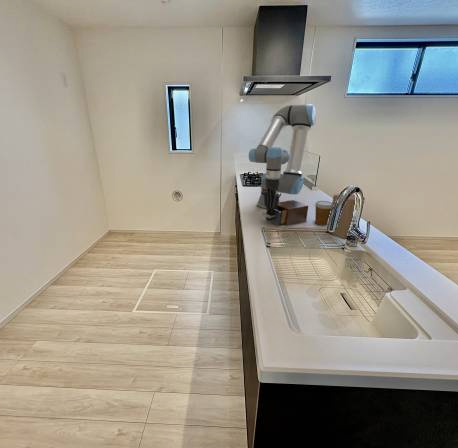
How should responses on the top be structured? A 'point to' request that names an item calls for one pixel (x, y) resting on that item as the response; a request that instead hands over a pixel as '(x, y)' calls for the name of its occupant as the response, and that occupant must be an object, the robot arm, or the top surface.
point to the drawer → (277, 215)
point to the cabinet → (294, 211)
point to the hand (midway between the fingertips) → (269, 220)
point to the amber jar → (322, 212)
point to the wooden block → (344, 216)
